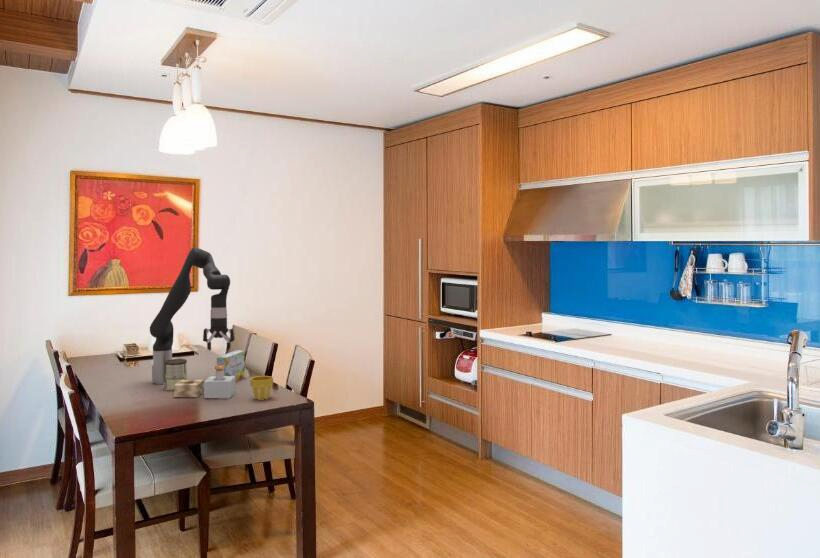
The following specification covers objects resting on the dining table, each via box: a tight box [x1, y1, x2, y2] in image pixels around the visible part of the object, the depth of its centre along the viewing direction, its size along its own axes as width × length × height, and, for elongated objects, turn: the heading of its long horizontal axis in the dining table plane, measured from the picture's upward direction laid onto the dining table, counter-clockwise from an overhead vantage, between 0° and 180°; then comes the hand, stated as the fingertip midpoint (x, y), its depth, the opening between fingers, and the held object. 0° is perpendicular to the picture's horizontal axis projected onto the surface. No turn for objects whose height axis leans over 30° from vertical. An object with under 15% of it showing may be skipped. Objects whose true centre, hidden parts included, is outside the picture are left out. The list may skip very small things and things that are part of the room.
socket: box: [203, 375, 237, 399], centre depth 296 cm, size 12×12×8 cm
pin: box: [214, 364, 225, 380], centre depth 296 cm, size 4×4×14 cm
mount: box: [173, 379, 205, 398], centre depth 297 cm, size 11×11×6 cm
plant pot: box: [250, 375, 274, 401], centre depth 291 cm, size 10×10×10 cm
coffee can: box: [165, 358, 188, 391], centre depth 309 cm, size 10×10×14 cm
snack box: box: [216, 349, 246, 382], centre depth 325 cm, size 21×6×15 cm, turn 168°
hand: (219, 350), depth 295 cm, fingers open, 8 cm apart
